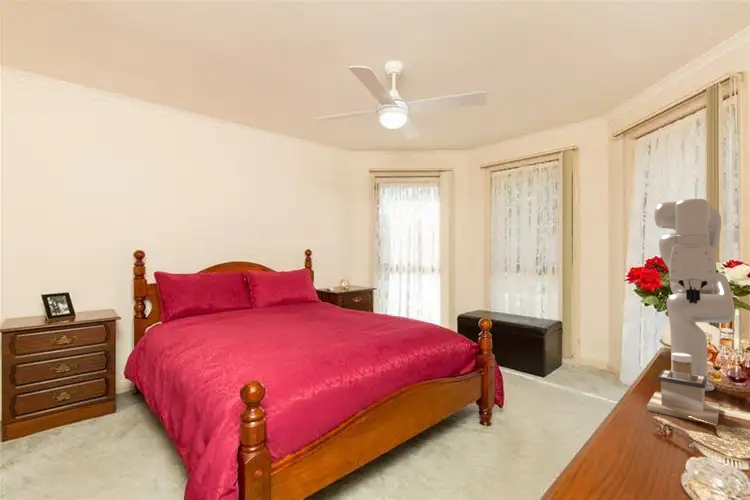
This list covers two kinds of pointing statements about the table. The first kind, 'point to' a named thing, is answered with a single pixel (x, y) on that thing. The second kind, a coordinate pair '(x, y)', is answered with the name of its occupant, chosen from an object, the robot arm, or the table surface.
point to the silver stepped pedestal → (683, 398)
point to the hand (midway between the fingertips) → (693, 302)
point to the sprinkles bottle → (682, 366)
